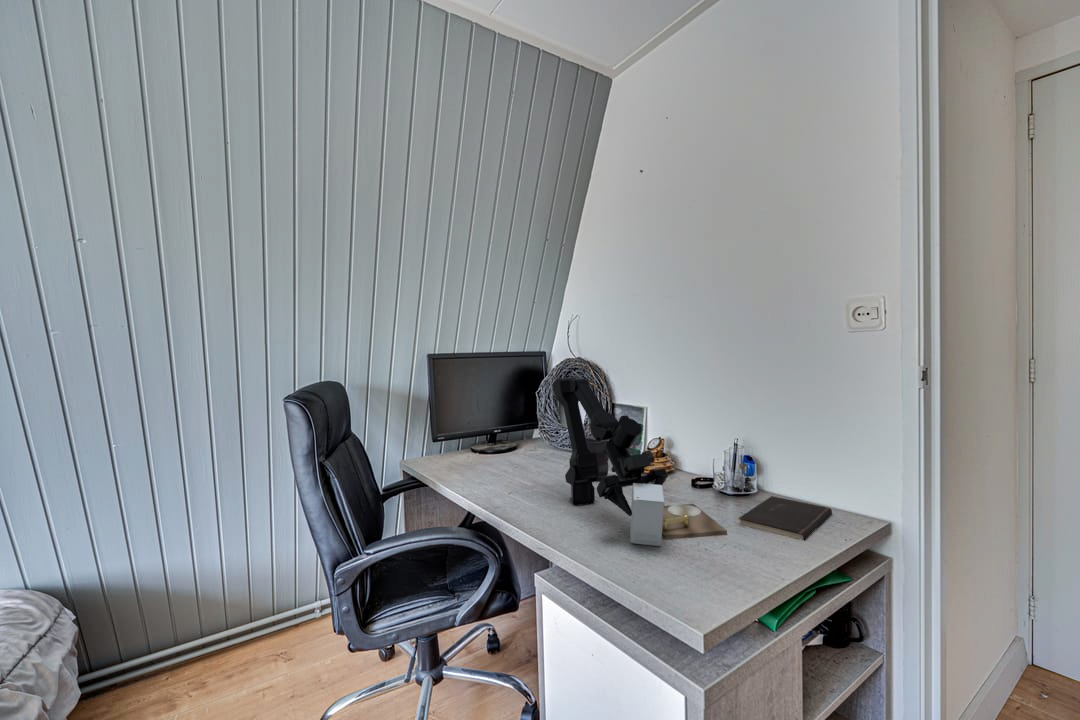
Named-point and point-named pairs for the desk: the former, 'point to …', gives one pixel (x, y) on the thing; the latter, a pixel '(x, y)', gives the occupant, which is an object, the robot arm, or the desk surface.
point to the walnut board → (690, 523)
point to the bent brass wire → (677, 520)
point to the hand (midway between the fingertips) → (647, 512)
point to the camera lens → (599, 455)
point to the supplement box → (647, 514)
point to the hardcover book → (786, 517)
